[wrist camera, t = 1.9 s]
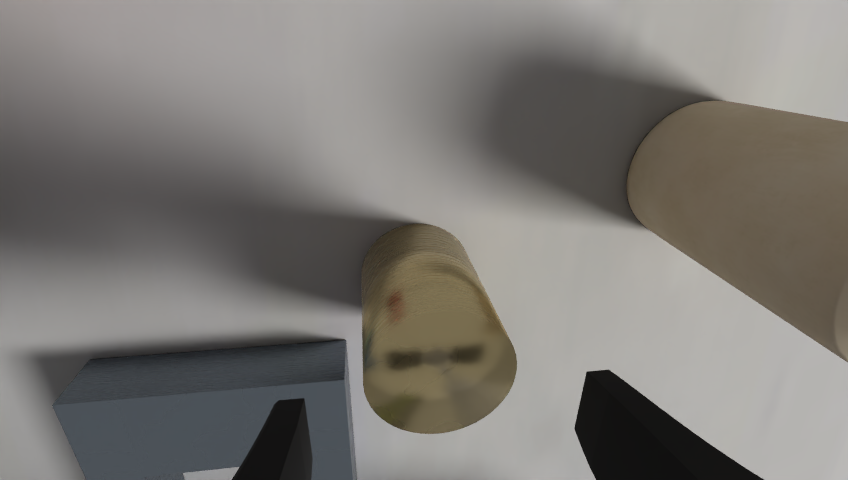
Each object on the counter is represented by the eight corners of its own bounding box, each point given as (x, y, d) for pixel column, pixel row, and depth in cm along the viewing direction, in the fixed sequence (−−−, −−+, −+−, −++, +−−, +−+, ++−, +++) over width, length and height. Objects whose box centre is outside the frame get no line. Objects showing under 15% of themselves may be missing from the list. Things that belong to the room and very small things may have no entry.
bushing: (472, 221, 17) (524, 306, 12) (466, 315, 19) (509, 425, 14) (358, 226, 17) (359, 317, 11) (364, 322, 18) (366, 441, 13)
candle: (619, 243, 18) (865, 439, 10) (630, 110, 16) (973, 204, 7) (740, 222, 19) (1089, 390, 10) (768, 88, 16) (1260, 151, 8)
